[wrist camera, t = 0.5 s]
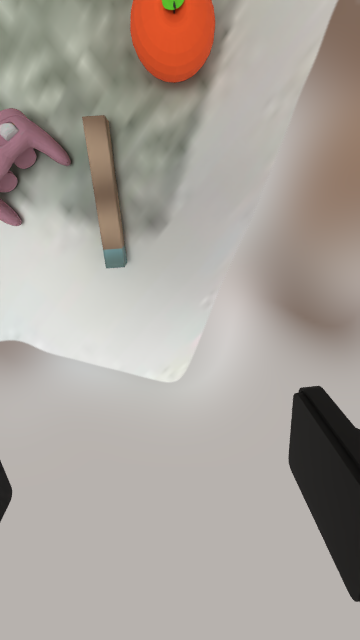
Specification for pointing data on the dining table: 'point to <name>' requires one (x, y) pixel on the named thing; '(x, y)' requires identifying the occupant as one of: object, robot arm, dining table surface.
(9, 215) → the video game controller
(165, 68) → the clementine
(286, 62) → the dining table surface
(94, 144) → the channel
